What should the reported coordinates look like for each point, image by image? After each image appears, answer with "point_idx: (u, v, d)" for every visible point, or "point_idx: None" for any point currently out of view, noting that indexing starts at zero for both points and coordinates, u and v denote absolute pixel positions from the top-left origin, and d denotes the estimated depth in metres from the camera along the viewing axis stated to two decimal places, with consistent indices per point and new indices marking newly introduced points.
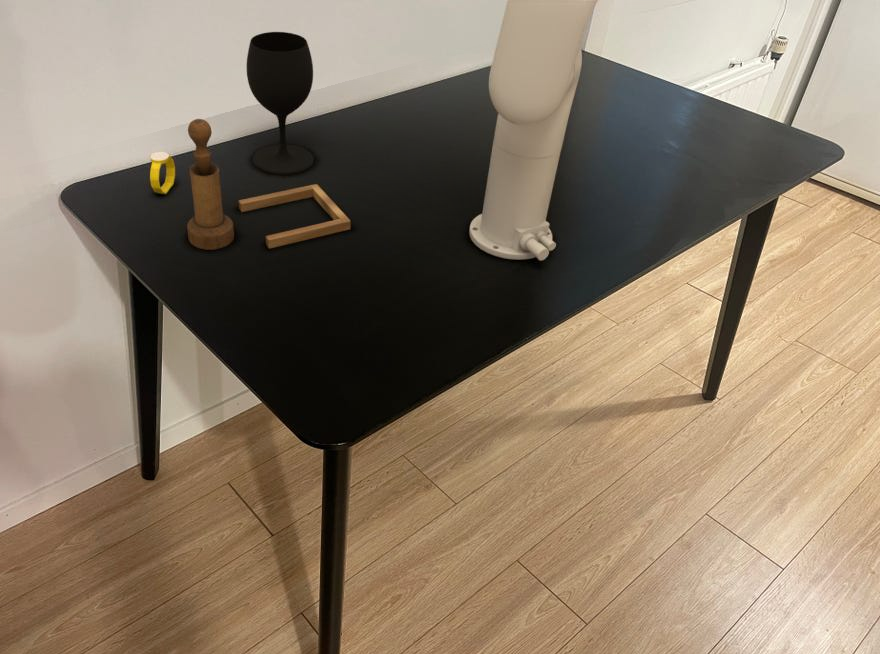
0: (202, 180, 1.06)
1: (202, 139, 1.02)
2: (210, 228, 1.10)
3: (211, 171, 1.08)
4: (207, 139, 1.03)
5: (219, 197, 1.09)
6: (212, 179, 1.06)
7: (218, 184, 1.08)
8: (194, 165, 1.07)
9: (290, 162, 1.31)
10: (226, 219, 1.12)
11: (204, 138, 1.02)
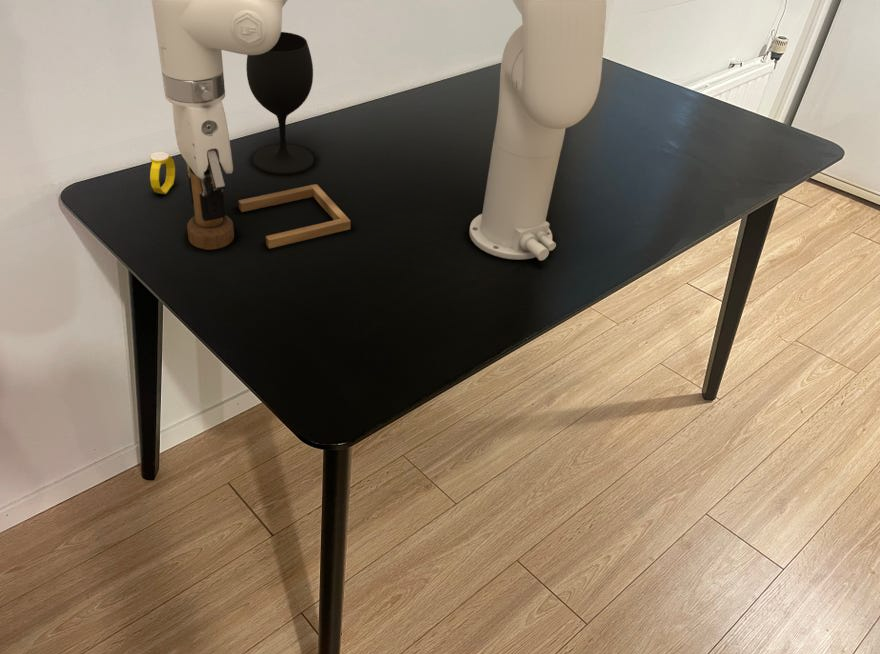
0: None
1: None
2: (210, 228, 1.10)
3: None
4: None
5: None
6: None
7: None
8: None
9: (290, 162, 1.31)
10: (226, 219, 1.12)
11: None
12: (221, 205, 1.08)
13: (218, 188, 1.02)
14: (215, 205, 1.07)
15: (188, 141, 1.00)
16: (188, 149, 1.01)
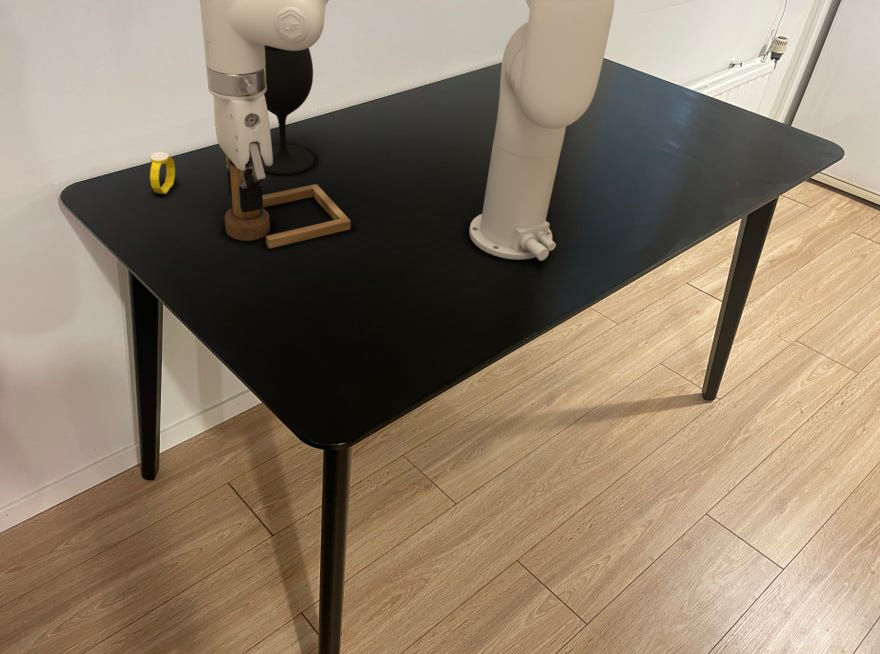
0: None
1: None
2: (247, 219, 1.13)
3: (249, 163, 1.10)
4: None
5: None
6: (251, 171, 1.08)
7: None
8: None
9: (290, 162, 1.31)
10: (262, 211, 1.15)
11: None
12: (259, 197, 1.11)
13: (259, 180, 1.04)
14: (254, 197, 1.09)
15: (230, 134, 1.02)
16: (230, 142, 1.04)
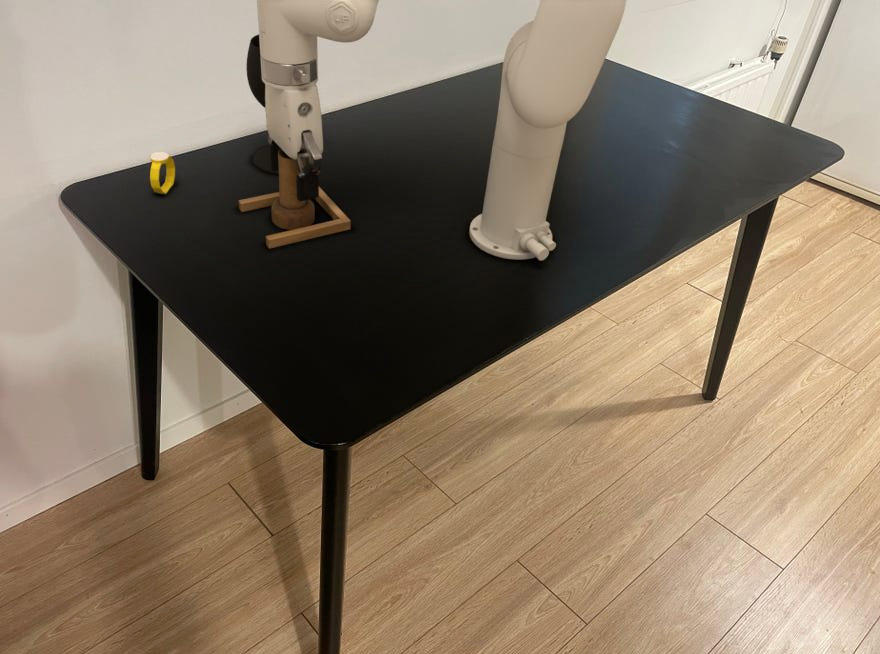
0: (290, 163, 1.11)
1: None
2: (294, 209, 1.16)
3: None
4: None
5: None
6: None
7: None
8: (281, 149, 1.12)
9: None
10: (308, 201, 1.18)
11: None
12: (315, 186, 1.11)
13: (316, 158, 1.04)
14: (311, 185, 1.10)
15: (283, 123, 1.05)
16: (282, 131, 1.06)
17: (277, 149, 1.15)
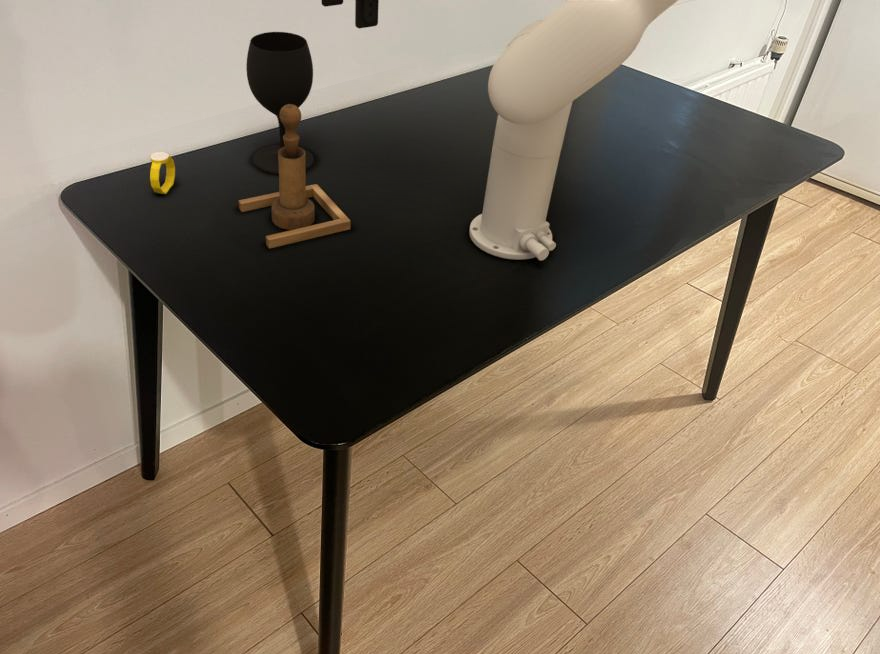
0: (290, 163, 1.11)
1: (293, 123, 1.07)
2: (294, 209, 1.16)
3: (297, 154, 1.13)
4: (297, 123, 1.08)
5: (304, 179, 1.14)
6: (300, 162, 1.11)
7: (304, 167, 1.13)
8: (281, 149, 1.12)
9: None
10: (308, 201, 1.18)
11: (295, 122, 1.08)
12: (375, 11, 1.03)
13: None
14: (371, 8, 1.02)
15: None
16: None
17: None
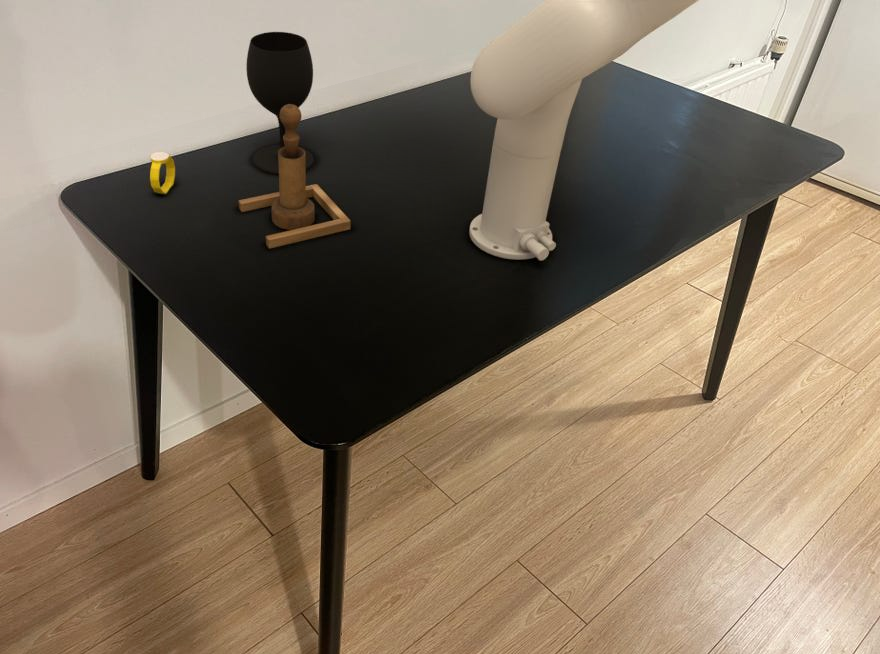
0: (290, 163, 1.11)
1: (293, 123, 1.07)
2: (294, 209, 1.16)
3: (297, 154, 1.13)
4: (297, 123, 1.08)
5: (304, 179, 1.14)
6: (300, 162, 1.11)
7: (304, 167, 1.13)
8: (281, 149, 1.12)
9: None
10: (308, 201, 1.18)
11: (295, 122, 1.08)
12: None
13: None
14: None
15: None
16: None
17: None
